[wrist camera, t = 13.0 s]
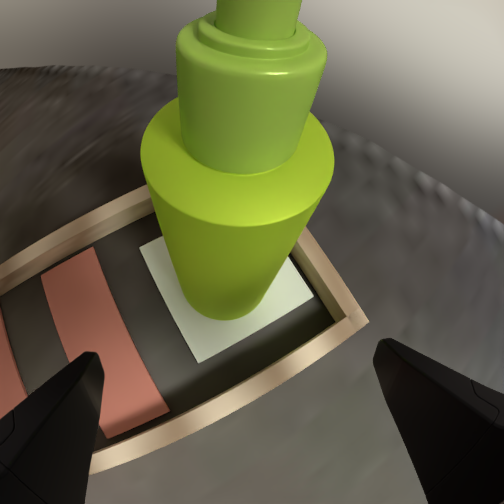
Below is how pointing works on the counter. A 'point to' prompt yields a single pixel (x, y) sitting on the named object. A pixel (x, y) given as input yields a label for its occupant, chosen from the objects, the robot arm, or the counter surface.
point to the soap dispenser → (238, 152)
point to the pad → (216, 331)
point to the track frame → (237, 396)
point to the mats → (90, 346)
